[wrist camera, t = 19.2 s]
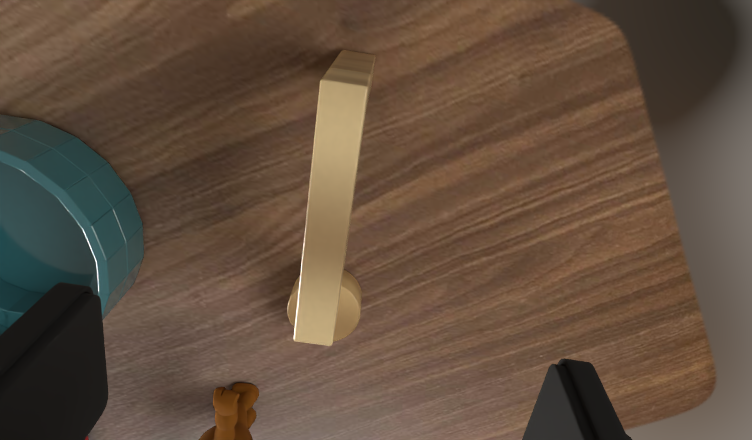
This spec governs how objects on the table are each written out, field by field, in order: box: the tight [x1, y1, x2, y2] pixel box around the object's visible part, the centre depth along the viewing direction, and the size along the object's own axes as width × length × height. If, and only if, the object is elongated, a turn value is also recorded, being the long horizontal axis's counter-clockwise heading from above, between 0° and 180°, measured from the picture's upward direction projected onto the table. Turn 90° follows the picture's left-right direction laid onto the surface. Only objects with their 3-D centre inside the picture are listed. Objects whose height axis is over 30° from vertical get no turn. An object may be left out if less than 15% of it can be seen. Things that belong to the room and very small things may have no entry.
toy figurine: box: [199, 383, 259, 440], centre depth 35 cm, size 12×4×7 cm, turn 170°
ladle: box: [287, 50, 376, 346], centre depth 28 cm, size 17×4×9 cm, turn 172°
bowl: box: [0, 115, 144, 335], centre depth 31 cm, size 13×13×5 cm
